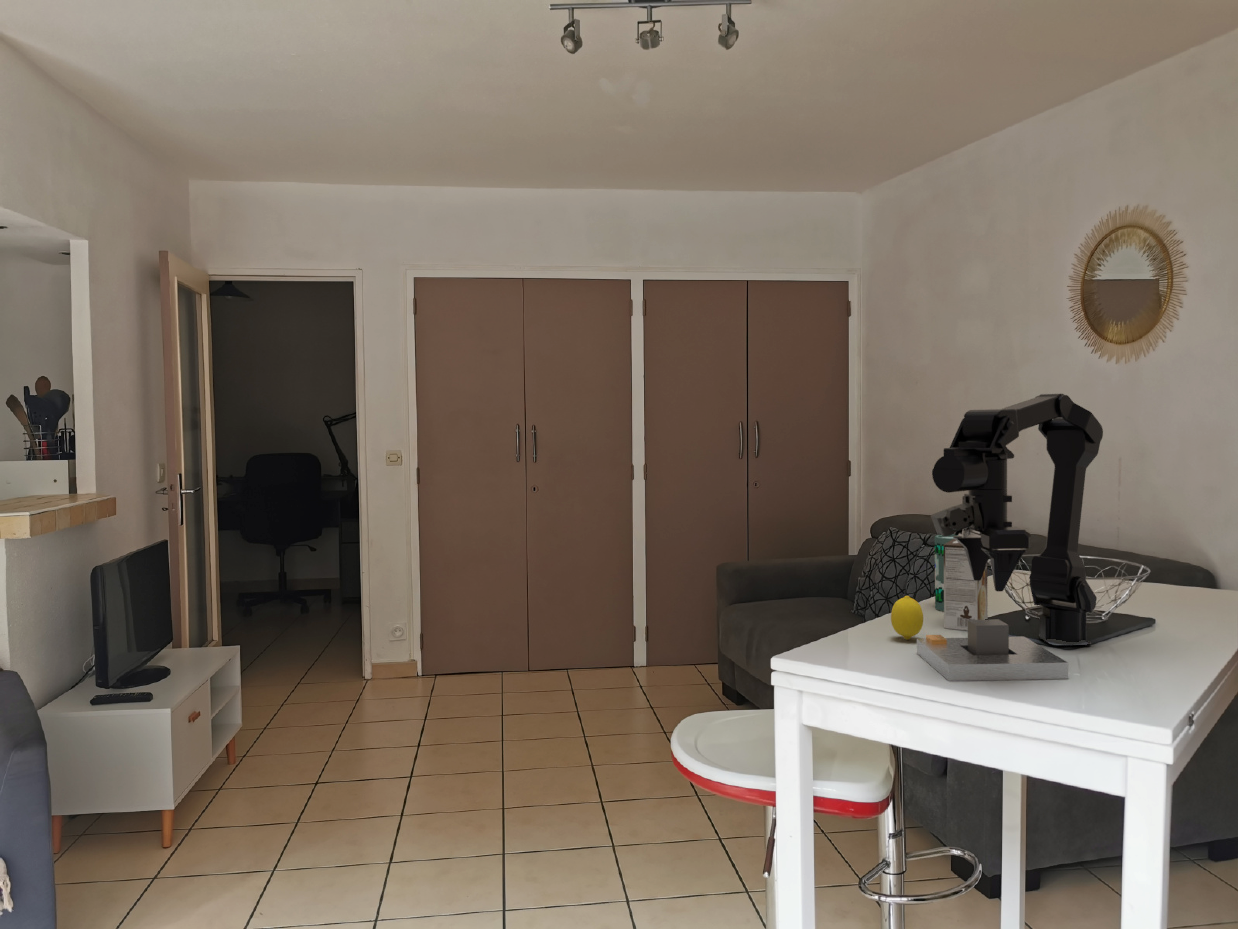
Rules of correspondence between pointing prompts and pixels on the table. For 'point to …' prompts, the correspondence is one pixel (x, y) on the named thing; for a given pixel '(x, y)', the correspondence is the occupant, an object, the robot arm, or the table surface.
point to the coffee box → (962, 589)
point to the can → (940, 570)
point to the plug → (988, 637)
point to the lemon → (907, 617)
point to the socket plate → (990, 660)
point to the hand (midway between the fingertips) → (987, 585)
